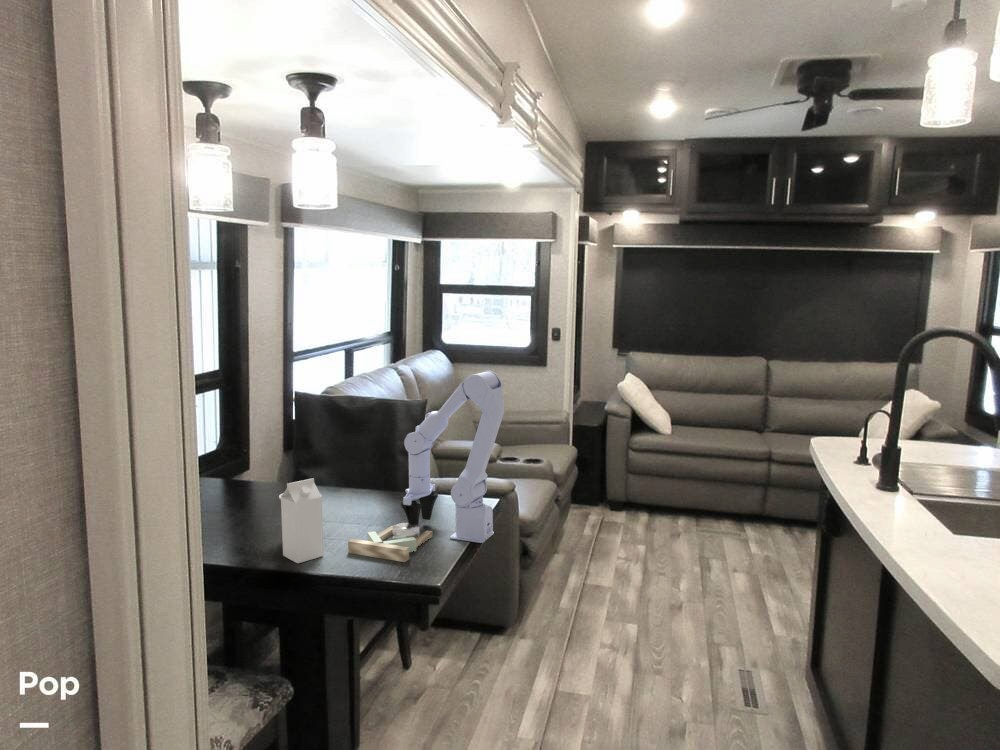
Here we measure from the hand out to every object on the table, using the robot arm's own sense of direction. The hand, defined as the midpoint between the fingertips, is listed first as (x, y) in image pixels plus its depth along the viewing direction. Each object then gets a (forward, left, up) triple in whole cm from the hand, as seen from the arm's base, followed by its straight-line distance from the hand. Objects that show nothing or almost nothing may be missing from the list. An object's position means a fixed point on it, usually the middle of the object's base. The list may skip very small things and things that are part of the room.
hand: (420, 523), depth 193 cm
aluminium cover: (0, +8, -2) cm, 8 cm away
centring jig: (0, +15, -1) cm, 15 cm away
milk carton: (+17, +29, -2) cm, 33 cm away
